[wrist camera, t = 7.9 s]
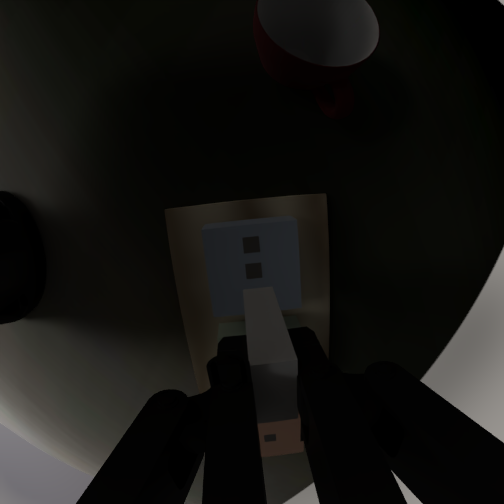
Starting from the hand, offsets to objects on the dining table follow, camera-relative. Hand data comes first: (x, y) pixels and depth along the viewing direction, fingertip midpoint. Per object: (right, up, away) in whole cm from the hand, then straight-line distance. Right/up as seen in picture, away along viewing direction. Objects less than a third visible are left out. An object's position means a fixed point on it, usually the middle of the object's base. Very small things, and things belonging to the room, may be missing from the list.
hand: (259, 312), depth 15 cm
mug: (+4, +19, +8) cm, 21 cm away
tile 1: (+1, -15, +14) cm, 20 cm away
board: (0, -6, +14) cm, 15 cm away
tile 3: (0, +2, +10) cm, 10 cm away
